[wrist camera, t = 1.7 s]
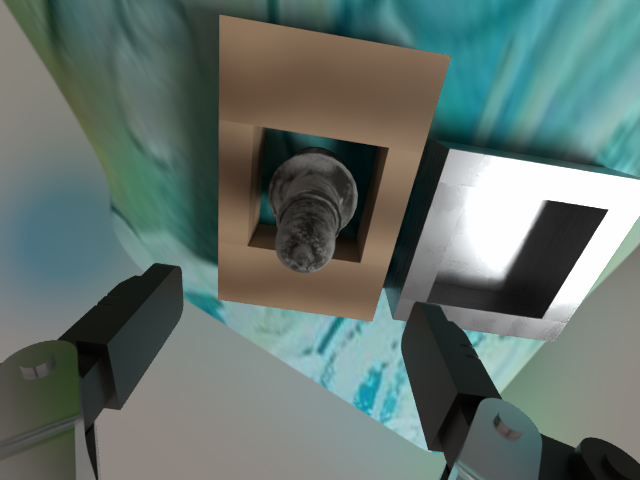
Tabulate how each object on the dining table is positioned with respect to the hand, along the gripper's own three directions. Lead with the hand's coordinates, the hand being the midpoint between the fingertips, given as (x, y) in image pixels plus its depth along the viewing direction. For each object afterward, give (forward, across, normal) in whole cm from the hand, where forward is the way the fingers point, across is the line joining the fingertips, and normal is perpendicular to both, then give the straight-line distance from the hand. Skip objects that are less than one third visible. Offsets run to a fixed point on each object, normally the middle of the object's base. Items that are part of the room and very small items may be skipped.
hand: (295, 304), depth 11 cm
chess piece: (+14, 0, 0) cm, 15 cm away
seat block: (+14, -14, +2) cm, 20 cm away
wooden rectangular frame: (+14, 0, 0) cm, 14 cm away
